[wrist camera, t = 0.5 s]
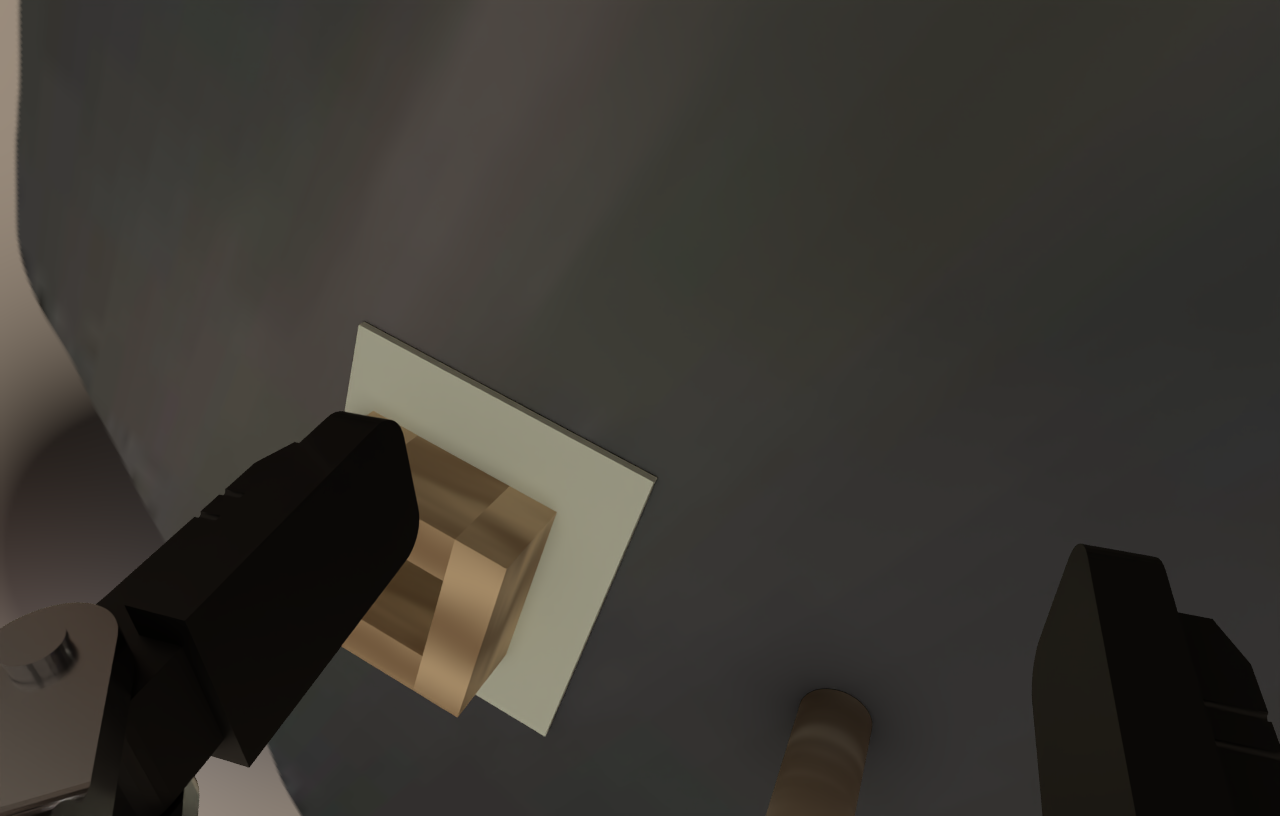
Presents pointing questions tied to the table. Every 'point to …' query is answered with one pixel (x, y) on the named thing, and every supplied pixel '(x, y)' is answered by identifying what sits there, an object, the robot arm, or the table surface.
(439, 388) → the mat
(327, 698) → the table surface
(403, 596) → the wooden square frame
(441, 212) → the table surface
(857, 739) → the peg
